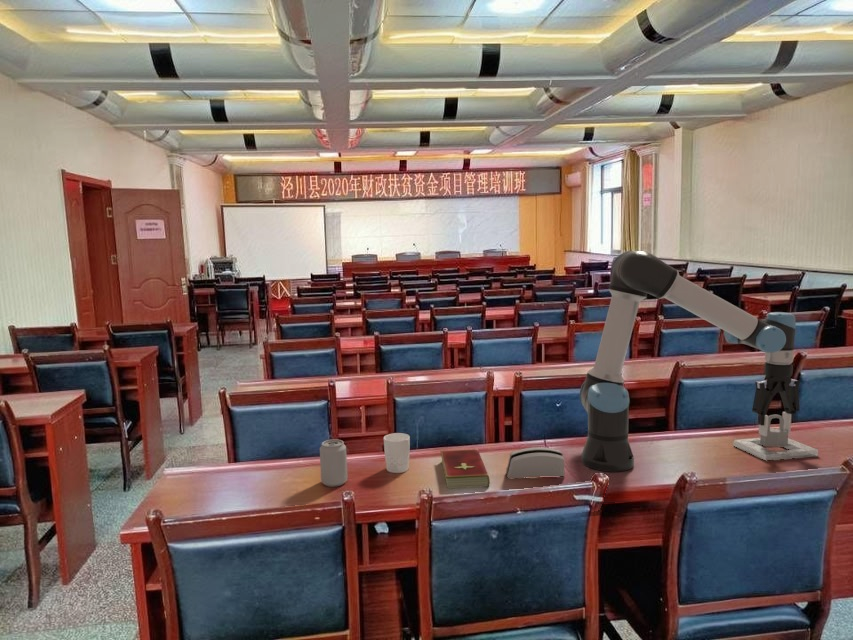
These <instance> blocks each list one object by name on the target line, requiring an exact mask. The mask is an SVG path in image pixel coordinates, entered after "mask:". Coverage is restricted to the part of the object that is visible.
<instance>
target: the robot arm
mask: <svg viewBox="0 0 853 640" xmlns="http://www.w3.org/2000/svg"><path fill="white" fill-rule="evenodd" d="M610 275H611V276H610V277H611V278H610V282H609V285H608V286H609V287H608V291H609V293H610V294H611V299H610V303H609V307H608V310H607V314H606V319H605V323H604V326H603V329H602V334H601V338H600V343H599V345H598V350H597V353H596V358H595V362H594V366H593V368H591V369H589V370H587V373H586V376H585V380H584V382H583V383H582V384H581V387H580V388H579V389H580V390H579V399H580V403H581V405H582V407H583V408H584V410H585V411H586V413H587V438H586V441H585V444H584V447H583V449H582V452H581V462H582V464H583V465H585V466H586V467H587V468H588V467H589V468H590V469H593V470H597V471H603V472H610V473H611V472H623V471H624V472H625V471H628V470H631V469H632V468H634V467H635V457H634V453H633V451H632V448H631V444H630V441H629V416H630V415H629V414H630V413H629V411H630V410H629V409H630V396H629V395H630V394H629V391H628V389H627V388H625V386H624V384H625V379H624V377H623V376H622V372H623V371H622V370H623V368H624V364H625V360H626V356H627V353H628V348H629V345H630V341H631V338H632V333H633V330H634V326H635V321H636V319H637V318H636V317H637V315H638V311H639V306H640V303H641V302H642V301H643V300H645V299H647V296H648V294H649V295H651V296H653V297H655V298H656V299H659V300H661V299H666V300H667V301H669V302H672V303H673V304H675V305H677V306H678V307H680V308H682V309H685V310H686V311H688V312H690V313H691V314H693V315H695V316H697V317H699V318H701V319H702V320H704V321H706V322H708V323H710V324H712V325H713V326H715V327H717V328H719V329H721V330H723V335H724V336H723V337H724V340H725V341H726V342H727V343H729V344H736V345H738V344H739V345H740V344H743V345H747V346H749V347H752V348H754V349H757V350H760V352H763V353H764V360H765V362H764V364H763V365H764V367H763V368H764V369H763V373H764V375H765V377H764V379H763V380H762V381H759V380H756V381H755V382H754V384H755V392H754V393H755V394H754V397H753V402H752V403H753V404H752V407H751V411H752V412H753V413H755V414H757V425H758V435H763V436H767V430H768V417H769V415H767V413H768V410H769V408H770V406H771V403H772V401H773V399H774V397H775V396H776V395H777V393H779V395H780V398H781V401H782V405H783V408H784V411H782V413H781V414H782V415H781V416H782V417H783V419H784V430H786V431H788V436H789V435H791V430H792V429H791V428H792V424H793V421H794V419H793V418H794V417H793V416H794V415H796V414H797V412H799V411H800V395H799V394H800V393H799V386H800V381H799V380H797V379H793V378H791V377H792V376H793V372H794V371H793V370H794V364H793V362H794V350H795V338H796V336H795V335H796V329H797V328H796V325H797V324H796V323H797V322H796V315H794V313H790V312H783V311H774V312H769V313H767V315H766V318H762V319H761V318H757V317H756V316H754V315H753V314H751V313H749V312H747V311H745V310H744V309H742V308H740V307H738V306H737V305H734V304H732V303H731V302H729V301H727V300H725V299H723V298H722V297H720V296H718V295H716V294H714V293H712V292H711V291H709V290H707V289H705V288H703V287H701V286H700V285H698V284H696V283H694V282H693V281H690V280H688V279H686V278H685V277H683V276H682V275H680V273H679V270H678V269H676V268H674V267H673V266H670V265H669V264H668V263H666V262H664V261H663V260H661V259H660V258H658V257H657V256H656V255H654V254H652V253H650V252H648V251H643V250H639V251H638V250H628V251H625V252H622V253H621V254H619V255H618V256H616V257H615V259H614V260H613V262H612V264H611V267H610Z"/></svg>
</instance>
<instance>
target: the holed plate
mask: <svg viewBox="0 0 853 640" xmlns="http://www.w3.org/2000/svg"><path fill="white" fill-rule="evenodd" d="M732 444H733V445H732V446H733V447H734V446H735V447H734V448H736V447H737V449H739V450H741V451H743V452H745V451H746V452H745V453H748V454H749V453H750V455H751V454H752V456H753V455H754V457H756V458H757V459H760V460H762V459H763V460H762V461H764V460H766V461H765V462H768V461H767V460H774V461H780V459H784V460H792V458H795V459H803V458H814V457H818V456H819V449H817V448H814V447H811V446H809V445H807V444H804V443H802V442H799V441H797V440H794V439H792V438H789V437H788V446H786V447H785V446H784V448H783V449H785V448H786V449H785V450H777V451H773V450H771V449H768V448H767V447H765V446H762V444H760V437H754V438H753V437H752V438H742V439H734V440H733V443H732ZM788 449H789V450H788Z"/></svg>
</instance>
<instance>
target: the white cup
mask: <svg viewBox="0 0 853 640" xmlns="http://www.w3.org/2000/svg"><path fill="white" fill-rule="evenodd" d="M410 437H411V436H410V435H409V434H407V433H402V432H394V433H389V434H386V435H384V436H383V449H384V457H385V460H384V461H385V466H386V471H387V472H389V473H392V474H401V473H405V472H407V471H408V470H409V465H410V464H409V463H410V452H411V451H410V450H411V449H410V446H411V445H410V442H411V441H410V440H411V439H410Z"/></svg>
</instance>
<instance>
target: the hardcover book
mask: <svg viewBox="0 0 853 640" xmlns="http://www.w3.org/2000/svg"><path fill="white" fill-rule="evenodd" d="M440 455H441V456H440V457H441V465H442V469H443V473H444V476H445V481H446V486H447V489H461V488H466V489H467V488H481V487H480V486H488V487H487V488H489V487H490V484H491V483H490V476H489V473H488V471H487V469H486V466H485V464H484V460H483V459H482V456H481V453H480V451H479V449H478V448H471V449H470V448H469V449H449V450H440Z"/></svg>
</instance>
